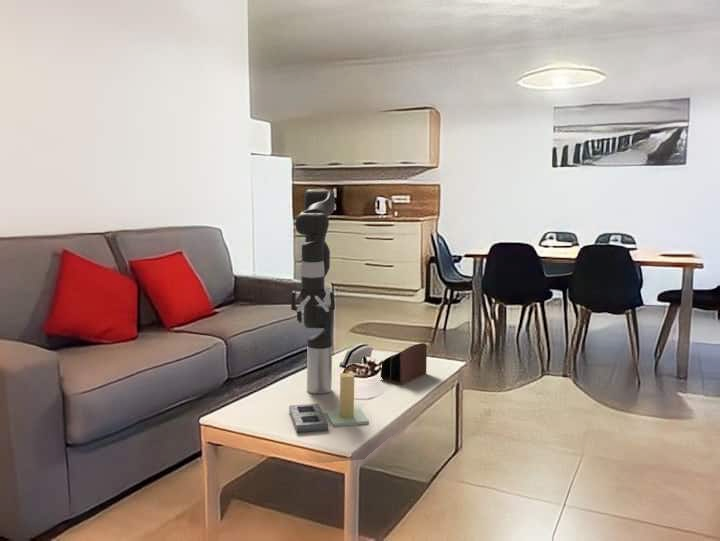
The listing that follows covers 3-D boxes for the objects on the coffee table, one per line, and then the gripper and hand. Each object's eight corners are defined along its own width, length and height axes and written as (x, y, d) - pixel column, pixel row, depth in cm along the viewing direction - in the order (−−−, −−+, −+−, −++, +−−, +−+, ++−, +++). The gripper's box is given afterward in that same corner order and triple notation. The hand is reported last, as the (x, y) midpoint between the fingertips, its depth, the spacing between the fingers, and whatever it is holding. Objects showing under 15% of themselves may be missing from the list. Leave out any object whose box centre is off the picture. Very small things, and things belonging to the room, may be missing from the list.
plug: (339, 413, 208) (340, 373, 206) (351, 413, 208) (352, 372, 207) (341, 418, 204) (342, 377, 202) (353, 417, 204) (354, 376, 203)
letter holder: (426, 374, 258) (427, 341, 256) (401, 385, 242) (402, 350, 240) (406, 369, 264) (407, 337, 262) (379, 380, 248) (380, 346, 246)
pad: (325, 413, 211) (325, 410, 210) (360, 411, 213) (360, 408, 213) (332, 426, 199) (332, 423, 199) (368, 424, 202) (368, 421, 202)
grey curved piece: (360, 358, 279) (367, 338, 276) (368, 363, 277) (375, 343, 274) (338, 366, 266) (345, 346, 263) (346, 372, 263) (353, 351, 260)
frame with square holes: (289, 412, 211) (289, 405, 210) (318, 410, 213) (318, 403, 213) (296, 433, 193) (296, 425, 193) (328, 430, 196) (328, 423, 195)
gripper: (335, 272, 206) (335, 319, 209) (292, 271, 206) (292, 319, 209) (334, 276, 199) (334, 325, 202) (289, 276, 199) (290, 325, 202)
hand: (313, 322), depth 206 cm, fingers open, 8 cm apart
